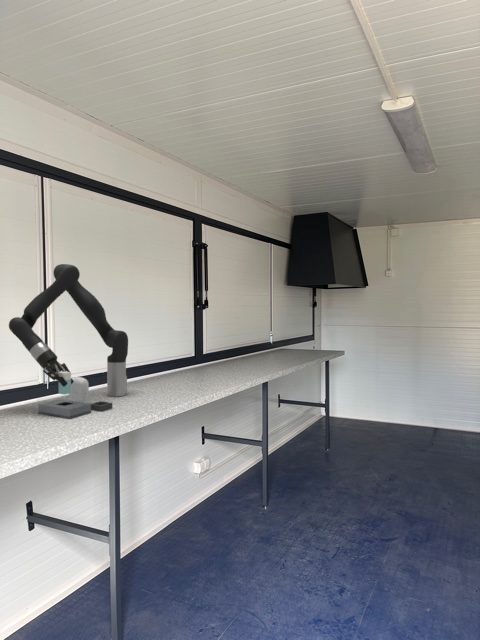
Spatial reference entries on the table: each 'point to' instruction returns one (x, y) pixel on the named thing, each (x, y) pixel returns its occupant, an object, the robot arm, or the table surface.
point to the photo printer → (79, 390)
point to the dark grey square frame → (101, 406)
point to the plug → (67, 388)
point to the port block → (64, 408)
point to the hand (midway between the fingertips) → (68, 384)
